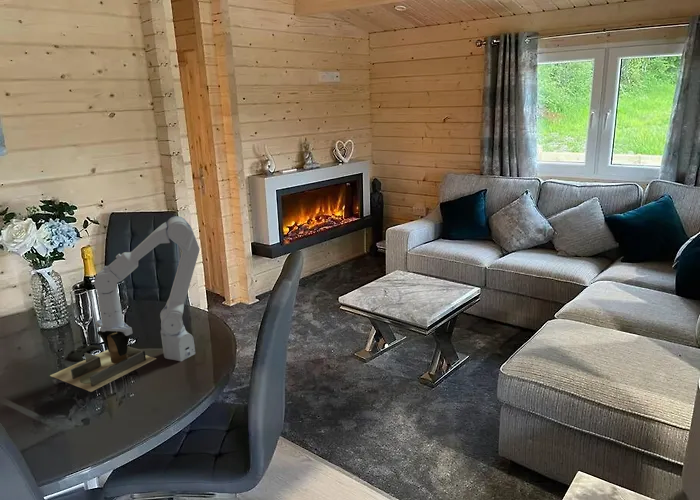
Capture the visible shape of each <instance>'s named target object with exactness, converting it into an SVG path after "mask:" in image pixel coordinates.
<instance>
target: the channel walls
mask: <svg viewBox="0 0 700 500" xmlns="http://www.w3.org/2000/svg"><path fill="white" fill-rule="evenodd" d="M83 355H84V360H86V363H84V364H82V365H79V366H77V367H75V368H73V369H71V374H72V379H76V378H78V377H80V376H82V375H84V374H86V373H88V372H90V371H93V370H95V369H97V368H99V367H101V361H100V357H98V356H95V355H96V354H95V355H94V354H91V353H88V352H86V353H84V354H83ZM126 355H127V356H131V357H129V358H127V359H125V360H123V361H121V362H119V363H117V364H115V365H112V366H110V367H108V368H106V369H104V370H102V371H100V372H98V373H96V374H94V375H92V376H90V381H91V386H92V387H93V386H95V385H97V384H99V383H101V382H103V381H105V380H107V379H109V378H111V377H113V376H115V375H117V374H119V373H121V372H123V371H125V370H127V369H129V368H131V367H133V366H135V365H137V364H139V363H141V362H143V361H145V360H146V357H145V355H146V352H145V350H142V349H139V348H136V347H134V346H133V347H132V346H129V345H128V347H127V353H126Z"/></svg>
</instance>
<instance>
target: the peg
mask: <svg viewBox="0 0 700 500" xmlns="http://www.w3.org/2000/svg"><path fill="white" fill-rule="evenodd" d="M114 334H116V333H112V334H110V335H108V336H107V340H108V346H109V351H110V357H111V362H112V363H119V362H121V361H123V360H125V359H127V355H126V354H124V355H122V356H120V355H119V353H118V350H117V346H116V344H115V342H114V340H113V339H112V338H111V336H112V335H114Z"/></svg>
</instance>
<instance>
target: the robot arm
mask: <svg viewBox="0 0 700 500" xmlns="http://www.w3.org/2000/svg"><path fill="white" fill-rule="evenodd" d="M170 240H171V241H172V242H173V243H175V244H176V245H177V246H178V247H179V249H180V250H181V255H180V258H179V261H178V265H177V268H176V273H175V275H174V280H173V282H172V287H171V290H170V293H169V296H168V299H167V301H166V304H165V306H164V307H163V308H162V310H161V311H160V314H159V317H160V321H161V323H160V327H161V329H160V337H161V344H162V351H163V357H164V358H165V359H167V360H173V361H178V362H183V361H185V360H187V359H189V358H190V357H192V356H194V355H196V348H195V347H196V346H195V340H194V339H195V338H194V336H193V335H192V334H191V333H189V331H187V330H186V327H185V325H184V321H183V314H184V311H185V310H184V307H185V303H186V299H187V295H188V291H189V288H190V284H191V282H192V278H193V275H194V271H195V267H196V264H197V261H198V257H199V254H200V246H199V244H198V240H197V238H196V235H195V233H194V230H193V228H192V226H191V225H190V224H189V222H188V221H187V220H186V219H185V217H182V216H179V215H178V216H177V215H176V216H172V217H170V218H168V220H167V221H165V222H163V223H162V224H160V225H159V226H158V227H157V228H156V229H155V230H153V231H152V232H151V233H150V234H149V235H148V236H146V237H145V238H144V240H143V241H141V242H140V243H139V244H138V245H137V246H136V247H135V248H134V249H133V250H131V251H130V252H129V251H125V252H122V253H118V254H117V255H116V256H115V258H116V259H114V260H113V261H112V262H111V263H110V264H108V265H105V266H103V267H102V270H100V271H98V272H97V274H96V275H95V278H94V281H93V282H94V283H93V284H94V288H95V290H96V294H97V302H98V307H99V309H98V310H99V314H100V319H97V320H95V327H96V328H99V330H98V331H97V334H98V336H99V337H100V338H101V340H102V342H104V344H105V347H106V350H108V351H109V346H108V340H107V336H108V335H110V334H112V333H116V334H114V335H112V336H111V338H112V339H113V340H114V342H115V344H116V346H117V350H118V353H119V355H120V356H122V355H124V354H126V353H127V347H128V346H129V341H130V338H131V336H132V334H133V328H132V327H131V326H129V325H128V324H127V323H126V322H125V321H124V317H123V311H122V305H121V299H120V294H119V293H118V286H117V285H118V283H119V282H122V281H123V280H124V279H126V278H127V277H128V276H129V275H130V274H132V273H133V272H134V271H135V270H136V269H138V267H139V262H140V260H141V259H143V258H144V257H145V256H146V255H147V254H149V253H150V252H152V250H153V249H155V248H156V247H157V246H159V245H160V244H170V243H171V241H170ZM109 352H110V351H109Z"/></svg>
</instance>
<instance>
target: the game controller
mask: <svg viewBox="0 0 700 500" xmlns="http://www.w3.org/2000/svg"><path fill="white" fill-rule="evenodd" d="M99 350H101V347H100V346H98V345H94V344H92V345H87V344H84V345H81V346H78V347H77V348H75V349H74V350H73V349H72V350H70V352H68V354H67V357H68V360H70V361H73V362H77V363H79V362H81V361H83V360H85V358H84V357H83V355H85V354H84V353H88V352H96V351H99Z"/></svg>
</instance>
